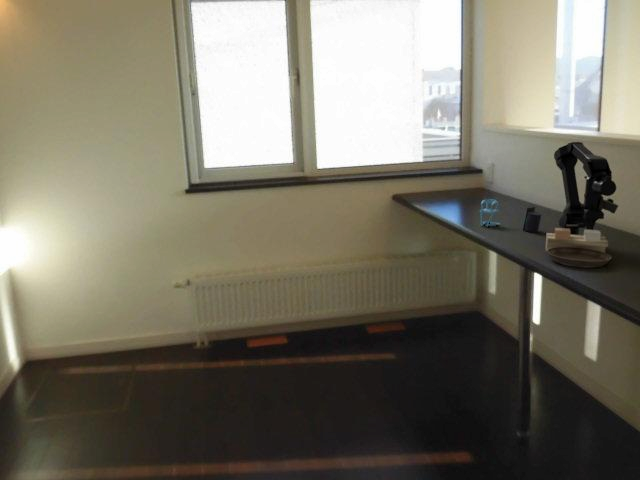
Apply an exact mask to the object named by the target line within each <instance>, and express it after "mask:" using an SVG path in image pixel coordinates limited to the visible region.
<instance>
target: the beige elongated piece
mask: <svg viewBox="0 0 640 480" xmlns="http://www.w3.org/2000/svg"><path fill="white" fill-rule="evenodd" d="M554 233H555V232H554ZM554 233H551V232H546V236H545V238H546V239H545V252H546V253H548V252H547V250H548V249H551V248H557V247H574V248H584V249H591V250H596V251H600V252H604V253H606V247H607V248H608V247H609V241H608V240H607V238H606V237H605V236H604V235H601V236H600V241H589V240H584V238H583V236H584V234H579V235H573V234H570V239H555V236H554Z"/></svg>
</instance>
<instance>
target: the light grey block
mask: <svg viewBox="0 0 640 480" xmlns="http://www.w3.org/2000/svg"><path fill="white" fill-rule="evenodd" d="M583 235H584V236H583V238H584V240H589V241H600V236H602V233H601V231H600V229H593V230H587V229H585V228H583Z"/></svg>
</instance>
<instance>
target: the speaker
mask: <svg viewBox="0 0 640 480" xmlns="http://www.w3.org/2000/svg"><path fill="white" fill-rule="evenodd" d="M541 219H542V213H541V212H538V211H536V206H532V207H527V208H526V214H525V218H524V223H523V228H522V231H523V232H524V231H526V232H529V233H538V232H539V228H540V223H541Z"/></svg>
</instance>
